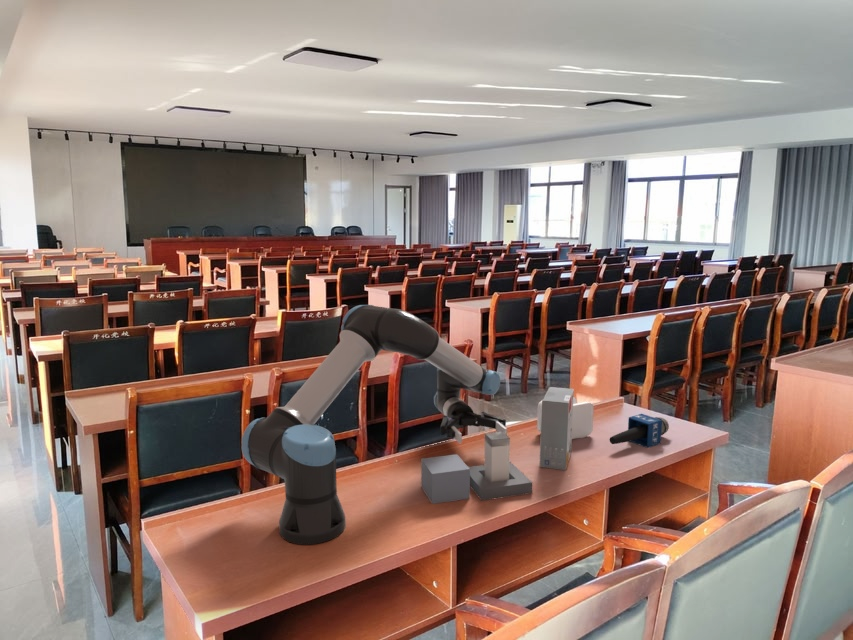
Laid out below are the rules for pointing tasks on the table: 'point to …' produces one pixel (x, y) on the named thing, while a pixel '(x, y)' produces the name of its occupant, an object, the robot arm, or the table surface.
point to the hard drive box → (556, 428)
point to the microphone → (642, 431)
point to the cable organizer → (575, 418)
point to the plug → (496, 456)
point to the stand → (445, 478)
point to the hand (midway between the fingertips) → (483, 436)
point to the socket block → (499, 483)
